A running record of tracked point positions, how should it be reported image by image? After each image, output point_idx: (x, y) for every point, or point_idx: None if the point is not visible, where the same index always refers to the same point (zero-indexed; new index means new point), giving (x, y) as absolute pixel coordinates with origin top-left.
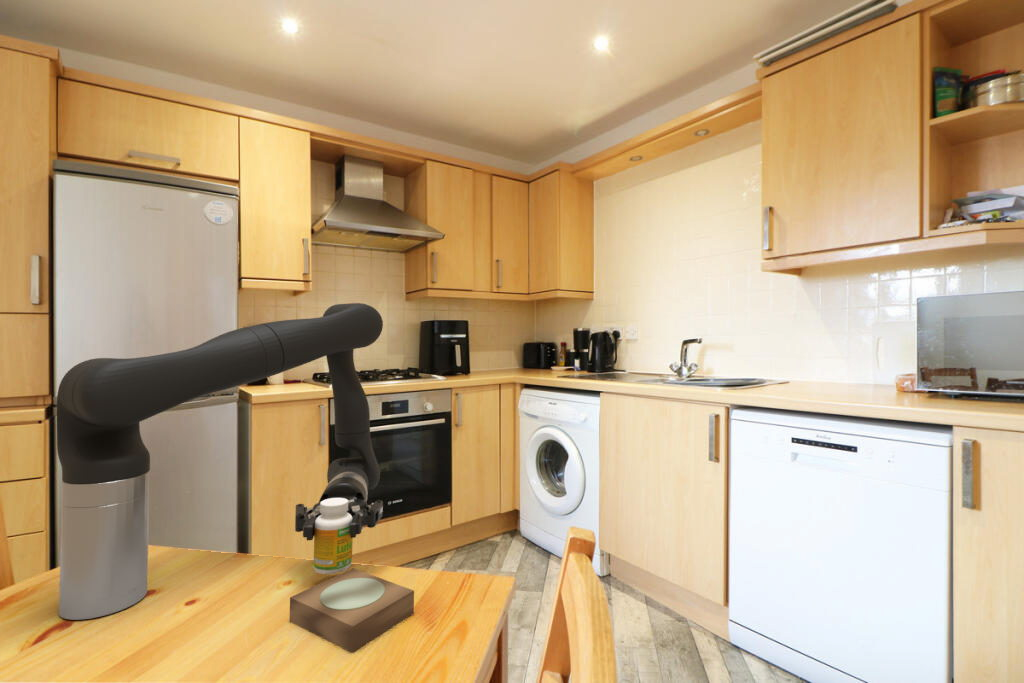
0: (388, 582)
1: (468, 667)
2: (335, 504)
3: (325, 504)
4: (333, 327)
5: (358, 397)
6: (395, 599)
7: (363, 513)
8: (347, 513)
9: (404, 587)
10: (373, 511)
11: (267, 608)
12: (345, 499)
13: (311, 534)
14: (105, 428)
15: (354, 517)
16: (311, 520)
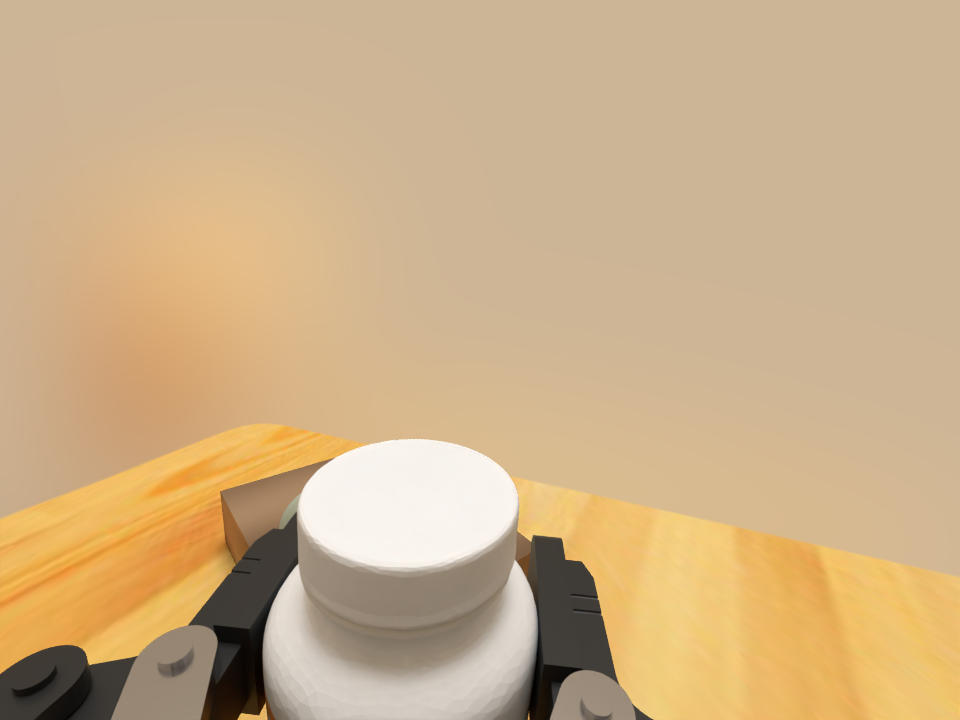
0: (254, 539)
1: (251, 426)
2: (410, 449)
3: (475, 456)
4: None
5: None
6: (285, 475)
7: (144, 655)
8: (304, 593)
9: (231, 508)
10: (42, 654)
11: (627, 694)
12: (315, 504)
13: (529, 565)
14: None
15: (264, 585)
16: (561, 602)
